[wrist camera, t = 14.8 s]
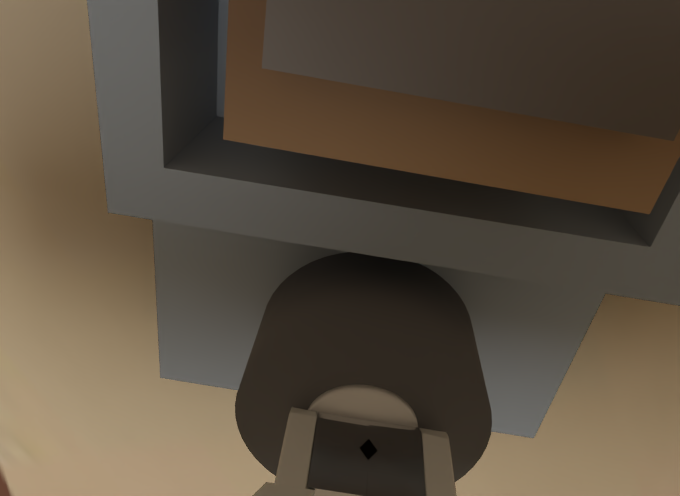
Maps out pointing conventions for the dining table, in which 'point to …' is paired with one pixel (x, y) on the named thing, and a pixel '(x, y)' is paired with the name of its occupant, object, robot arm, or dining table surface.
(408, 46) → the brown block
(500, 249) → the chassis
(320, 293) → the wheel
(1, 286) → the dining table surface
